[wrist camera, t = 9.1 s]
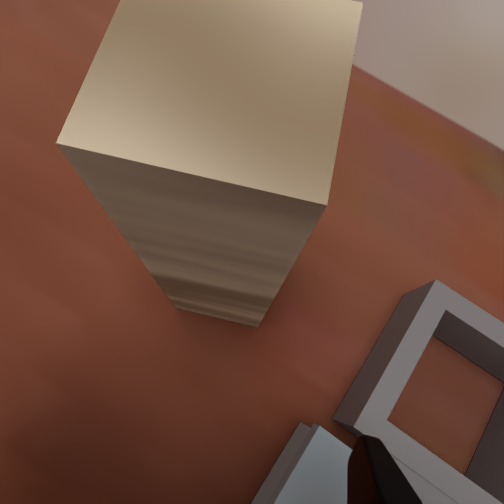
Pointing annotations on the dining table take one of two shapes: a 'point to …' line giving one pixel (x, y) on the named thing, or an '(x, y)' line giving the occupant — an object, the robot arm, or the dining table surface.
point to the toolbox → (383, 400)
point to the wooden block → (215, 139)
